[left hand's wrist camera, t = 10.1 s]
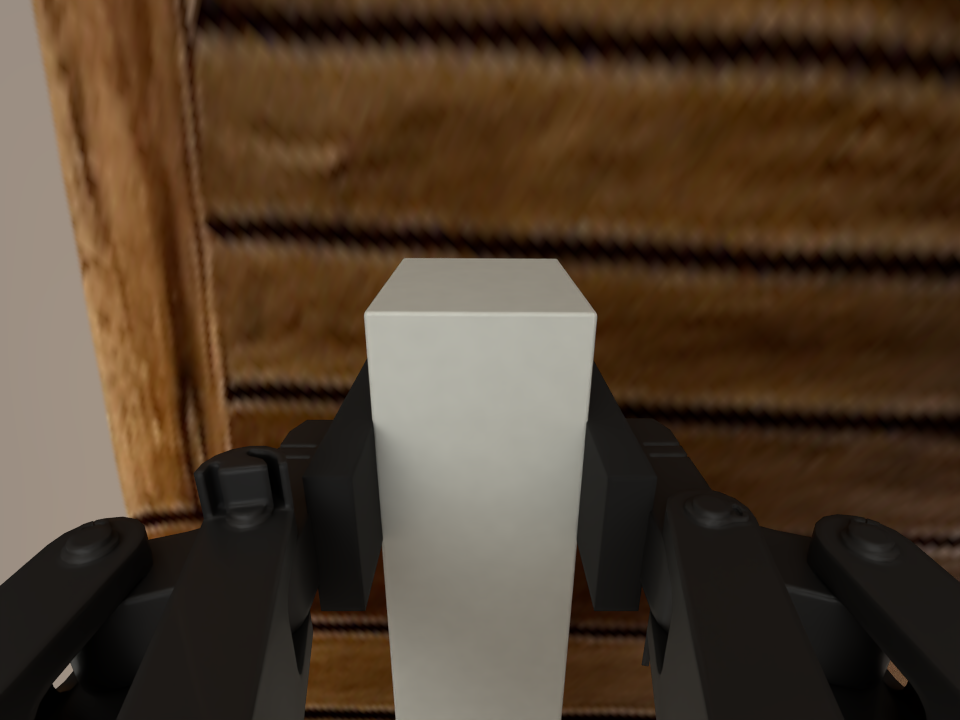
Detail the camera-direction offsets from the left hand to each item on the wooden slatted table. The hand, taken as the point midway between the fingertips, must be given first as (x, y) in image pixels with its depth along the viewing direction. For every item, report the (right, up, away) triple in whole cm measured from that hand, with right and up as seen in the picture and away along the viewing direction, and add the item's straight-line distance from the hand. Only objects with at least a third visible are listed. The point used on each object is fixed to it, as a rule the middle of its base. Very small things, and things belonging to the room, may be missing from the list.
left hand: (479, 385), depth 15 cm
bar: (0, -8, +3) cm, 9 cm away
